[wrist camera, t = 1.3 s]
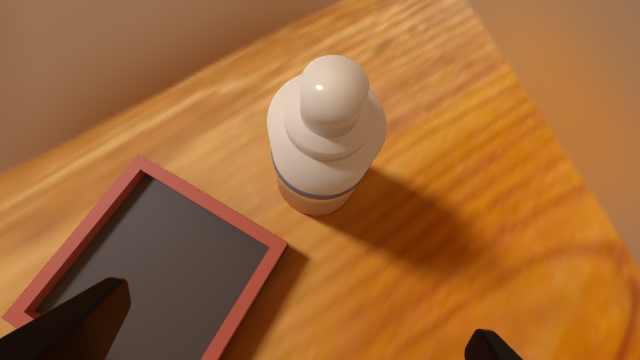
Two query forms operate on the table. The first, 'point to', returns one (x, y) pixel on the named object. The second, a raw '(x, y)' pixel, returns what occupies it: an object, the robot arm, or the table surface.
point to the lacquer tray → (161, 266)
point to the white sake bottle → (324, 134)
